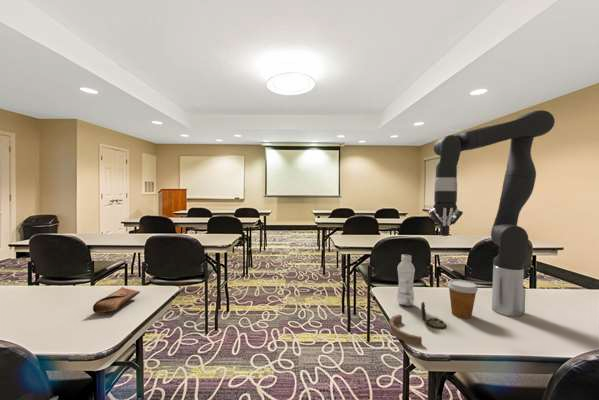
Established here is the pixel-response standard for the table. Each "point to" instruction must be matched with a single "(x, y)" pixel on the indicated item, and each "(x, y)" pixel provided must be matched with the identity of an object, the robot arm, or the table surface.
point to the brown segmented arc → (402, 335)
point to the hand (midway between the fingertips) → (444, 235)
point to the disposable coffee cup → (462, 298)
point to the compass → (432, 320)
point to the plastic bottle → (405, 281)
